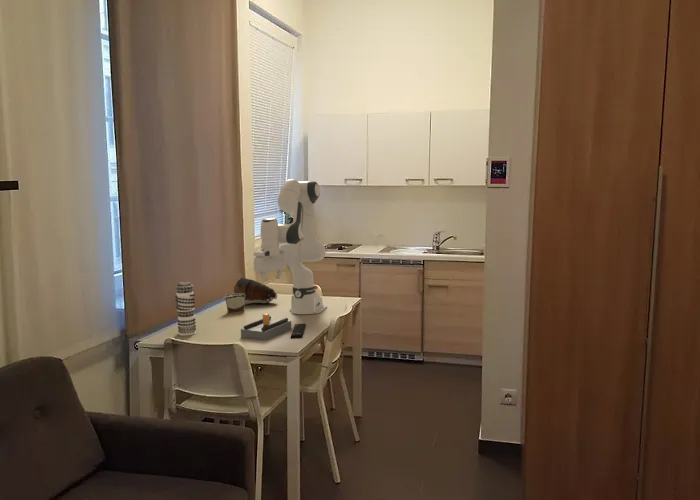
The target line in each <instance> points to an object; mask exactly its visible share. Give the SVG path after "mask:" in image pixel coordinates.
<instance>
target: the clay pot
mask: <svg viewBox="0 0 700 500" xmlns="http://www.w3.org/2000/svg"><path fill="white" fill-rule="evenodd" d="M233 293H244V294H245V295H246V297H245V305H244V306H246V305H249V304H269V303H270V302H273V300H277V299H278V294H277V293H276V292H275V290H274V288H272V287H271V288H270V286H268V285H266V284H262V283H261V282H259V281H256V280H255V279H254V280H253V279H250V278H246V277H239V278H238V279H237V281H236V282H235V284H234V287H233Z"/></svg>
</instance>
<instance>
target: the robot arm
mask: <svg viewBox="0 0 700 500" xmlns="http://www.w3.org/2000/svg"><path fill="white" fill-rule="evenodd" d="M279 191H280V192H279V194H278V197H277V205H278V208H279V209H280V210H282V211H283V212H284V213H286V214H290V215H292V216H293V220H292V222H291V223H281V224H280V223H278V219H277V218H275V217H267V218H262V220H261V221H260V239H261V244H260V248H259V249H257V250H256V251H254V252H253V256H254V259H253V270H254V272H255V273H260V276H261V278H262V282H267V281H268V276H266V273H267V272H272V271H276V274H275V279H276V280H277V279H279V280H280V279H281V274H282V272H283V270H284V269H285V270H286V269H287V267H289V269H290V271H291V274H292V275H291V276H292V283H293V284H292V285H293V286H292V296H291V302H290V303H291V304H290V305H291V306H290V308H289V312H291V313H292V314H294V315H312V314H320V313H322V312H323V311H324V310H325V309H327V308H328V305H325V304H323V297H322V296H320V295H319V294H318V293H317V291H316V290H317V289H318V288H319V287H318V285H315V284H314V273H313V271H312V270H311V269H310V268H308V267H306V266H305V265H304V264H303V263H304V262H309V263H310V262H313V263H314V262H317V261H322V260H323V259H324V258H325V256H326V251H327V250H326V247H325V245H324V243H322V242H321V241H320V240H319V239H318V238H317V236H316V232H315V220H316V212H315V203H316V201H317V200H319V198H320V195H321V189H320V185H319V184H318V182H317V181H314V180H309V181H307V180H305V181H304V180H303V181H298V180H297V179H294V178H290V179H287V180H286V181H285V182H284V184H283V185H282V187H281V188H280V190H279ZM302 239H303V240H302Z"/></svg>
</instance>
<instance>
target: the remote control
mask: <svg viewBox="0 0 700 500" xmlns="http://www.w3.org/2000/svg"><path fill="white" fill-rule="evenodd" d="M306 326H307V324H306V323H295V324H294V325H293V328H292V332H291V335H290V339H302V338H303V335H304V334H305V328H306Z"/></svg>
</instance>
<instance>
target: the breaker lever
mask: <svg viewBox="0 0 700 500" xmlns="http://www.w3.org/2000/svg"><path fill="white" fill-rule="evenodd" d="M269 316H270V313H263V314H262V319H263V325H269V324H270V320H269Z"/></svg>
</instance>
